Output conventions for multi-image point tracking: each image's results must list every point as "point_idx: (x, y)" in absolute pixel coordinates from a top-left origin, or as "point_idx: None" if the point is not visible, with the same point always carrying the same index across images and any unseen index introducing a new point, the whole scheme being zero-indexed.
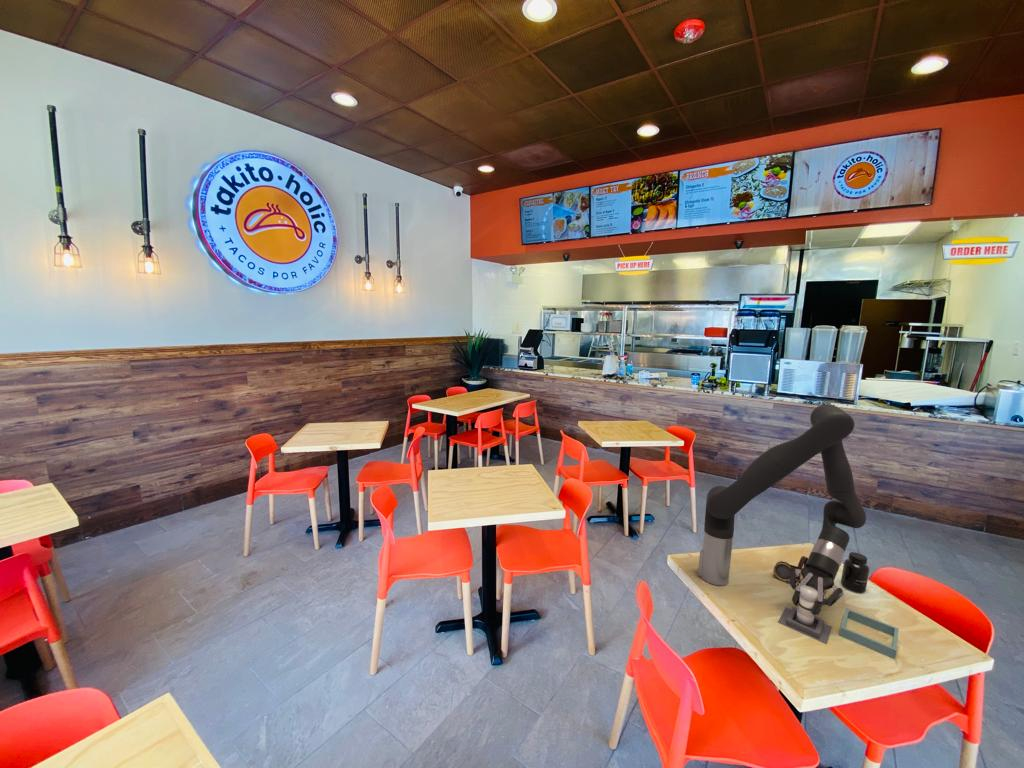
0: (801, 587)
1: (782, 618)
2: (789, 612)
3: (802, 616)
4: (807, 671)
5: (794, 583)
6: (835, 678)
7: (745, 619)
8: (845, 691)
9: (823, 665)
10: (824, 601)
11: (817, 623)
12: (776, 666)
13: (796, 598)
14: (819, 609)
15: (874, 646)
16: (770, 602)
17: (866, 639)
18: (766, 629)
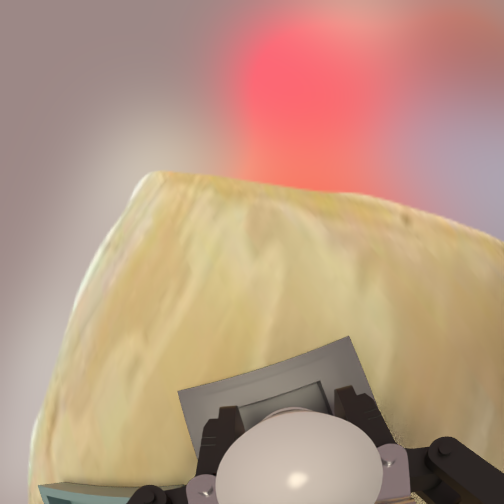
0: (366, 449)
1: (357, 379)
2: None
3: (288, 407)
4: (175, 229)
5: (439, 467)
6: (123, 272)
7: (403, 257)
8: (101, 252)
9: (155, 292)
10: (179, 496)
11: None
12: (229, 179)
13: (350, 408)
14: (202, 443)
15: (85, 490)
16: None
17: (94, 494)
18: (344, 279)
